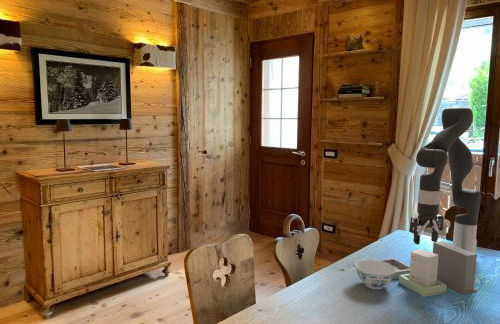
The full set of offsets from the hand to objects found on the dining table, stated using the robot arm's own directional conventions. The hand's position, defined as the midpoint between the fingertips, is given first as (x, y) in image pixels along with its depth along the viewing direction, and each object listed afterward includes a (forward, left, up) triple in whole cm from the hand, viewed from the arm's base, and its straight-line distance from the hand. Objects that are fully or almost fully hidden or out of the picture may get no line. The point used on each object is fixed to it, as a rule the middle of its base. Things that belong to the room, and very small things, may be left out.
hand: (425, 242), depth 149 cm
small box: (0, 0, -18) cm, 18 cm away
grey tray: (0, -16, -18) cm, 24 cm away
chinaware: (+17, -7, -18) cm, 26 cm away
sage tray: (0, 0, -18) cm, 18 cm away
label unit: (-14, +1, -18) cm, 23 cm away
